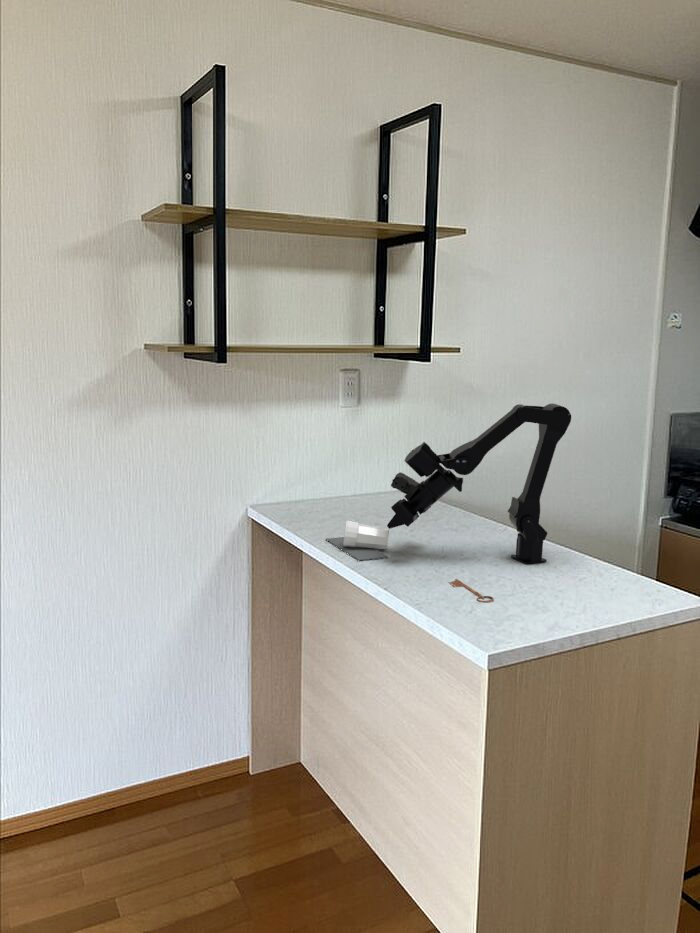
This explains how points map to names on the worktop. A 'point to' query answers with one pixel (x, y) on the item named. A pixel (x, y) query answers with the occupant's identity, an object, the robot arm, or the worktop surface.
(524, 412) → the robot arm
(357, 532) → the cup
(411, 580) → the worktop surface
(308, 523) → the worktop surface
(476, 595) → the key
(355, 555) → the mat
